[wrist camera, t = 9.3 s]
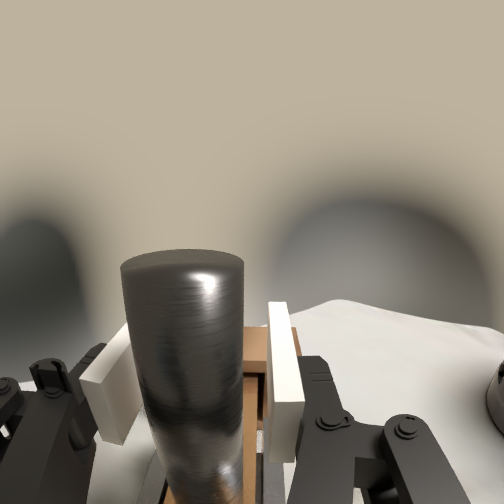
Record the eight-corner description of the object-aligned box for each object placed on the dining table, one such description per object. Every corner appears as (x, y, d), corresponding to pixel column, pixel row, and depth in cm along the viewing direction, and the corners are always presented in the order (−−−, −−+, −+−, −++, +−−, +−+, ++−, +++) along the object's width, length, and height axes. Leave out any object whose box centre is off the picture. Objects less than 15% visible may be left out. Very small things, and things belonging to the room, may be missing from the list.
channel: (274, 462, 17) (279, 417, 16) (278, 582, 8) (288, 564, 6) (180, 456, 18) (169, 410, 16) (150, 569, 8) (122, 544, 7)
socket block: (289, 392, 26) (295, 327, 24) (293, 429, 21) (302, 360, 19) (182, 387, 26) (174, 323, 24) (169, 422, 21) (156, 353, 19)
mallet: (256, 391, 24) (261, 210, 20) (252, 552, 9) (266, 286, 6) (210, 389, 24) (202, 209, 20) (175, 544, 9) (79, 277, 6)
